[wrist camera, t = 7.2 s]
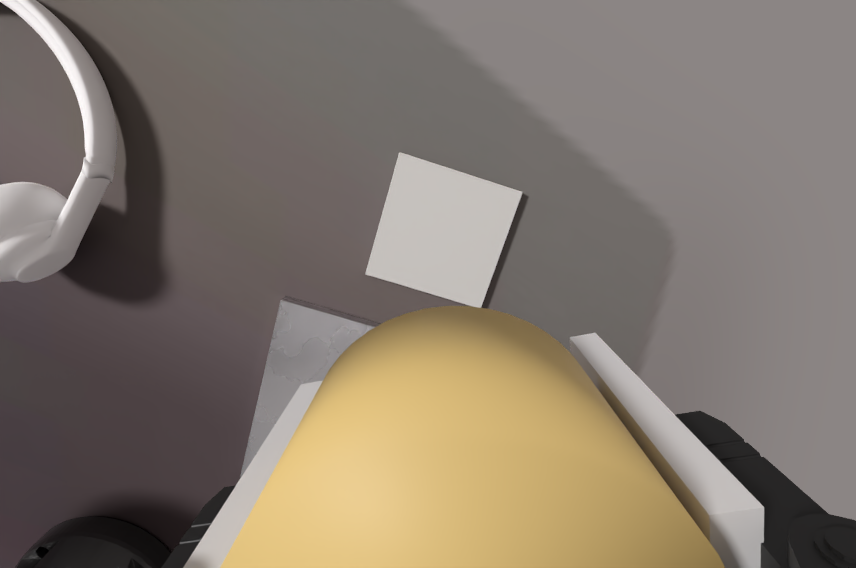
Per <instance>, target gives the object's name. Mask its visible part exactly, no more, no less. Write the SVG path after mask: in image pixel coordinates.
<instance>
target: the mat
mask: <svg viewBox="0 0 856 568" xmlns="http://www.w3.org/2000/svg"><path fill="white" fill-rule="evenodd" d="M522 193H523V192H521V191H518V190H515V189H512V188H508V187H505V186H502V185H499V184H496V183H493V182H490V181H487V180H484V179H481V178H478V177H474V176H471V175H468V174H465V173H462V172H459V171H456V170H453V169H450V168H447V167H444V166H441V165H437V164H434V163H431V162H428V161H425V160H422V159H419V158H416V157H413V156H410V155H407V154H403V153H400V152H399V156H398V159H397V163H396V166H395V170H394V173H393V177H392V181H391V184H390V188H389V191H388V195H387V199H386V202H385V206H384V209H383V213H382V216H381V220H380V224H379V227H378V231H377V234H376V238H375V241H374V245H373V249H372V252H371V256H370V259H369V263H368V266H367V270H366V275H370V276H373V277H376V278H380V279H383V280H386V281H390V282H393V283H396V284H400V285H403V286H406V287H410V288H413V289H416V290H420V291H423V292H426V293H430V294H433V295H436V296H440V297H443V298H446V299H450V300H453V301H456V302H460V303H463V304H466V305H470V306H473V307H478V308H481V306H482V303H483V301H484V298H485V295H486V292H487V290H488V287H489V284H490V281H491V279H492V276H493V273H494V270H495V267H496V265H497V262H498V259H499V256H500V254H501V251H502V248H503V245H504V242H505V240H506V237H507V234H508V231H509V229H510V226H511V223H512V220H513V218H514V215H515V212H516V209H517V206H518V204H519V201H520V198H521V195H522Z"/></svg>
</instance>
